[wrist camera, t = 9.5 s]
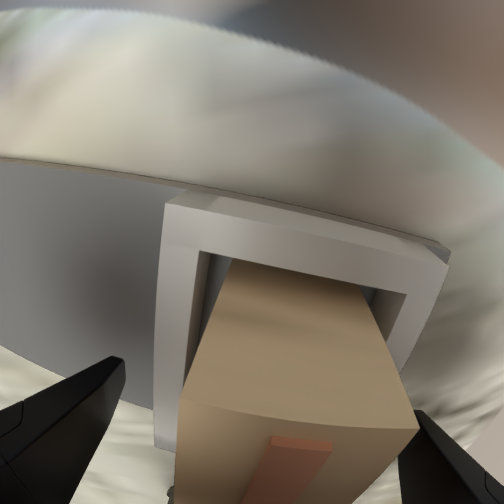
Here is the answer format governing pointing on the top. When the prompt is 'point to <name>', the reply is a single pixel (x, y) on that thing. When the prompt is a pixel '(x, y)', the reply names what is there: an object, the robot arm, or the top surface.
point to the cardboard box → (288, 395)
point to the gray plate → (174, 271)
